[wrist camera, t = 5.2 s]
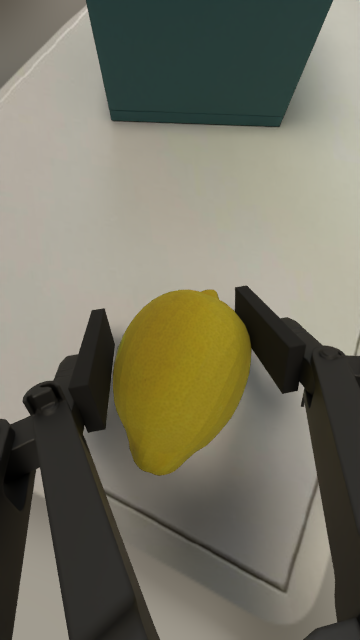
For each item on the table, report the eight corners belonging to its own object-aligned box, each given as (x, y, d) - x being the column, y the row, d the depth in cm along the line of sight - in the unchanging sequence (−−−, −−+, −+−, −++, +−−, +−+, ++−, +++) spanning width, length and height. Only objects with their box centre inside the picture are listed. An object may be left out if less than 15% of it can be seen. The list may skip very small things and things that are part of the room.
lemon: (168, 289, 21) (167, 232, 13) (253, 335, 20) (306, 303, 12) (92, 412, 18) (36, 430, 10) (188, 469, 17) (203, 535, 10)
